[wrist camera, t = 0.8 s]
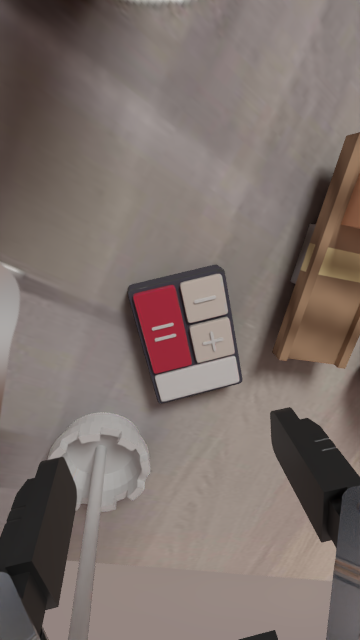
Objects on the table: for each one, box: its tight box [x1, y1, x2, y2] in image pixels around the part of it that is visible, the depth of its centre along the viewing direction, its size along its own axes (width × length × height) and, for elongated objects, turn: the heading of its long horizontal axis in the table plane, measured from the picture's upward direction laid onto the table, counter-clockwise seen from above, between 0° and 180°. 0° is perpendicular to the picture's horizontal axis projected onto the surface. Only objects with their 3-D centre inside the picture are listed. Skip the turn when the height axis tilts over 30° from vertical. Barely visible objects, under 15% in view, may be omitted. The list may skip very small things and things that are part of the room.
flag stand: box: [47, 412, 150, 640], centre depth 31 cm, size 13×13×30 cm
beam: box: [272, 132, 360, 368], centre depth 36 cm, size 24×9×5 cm, turn 168°
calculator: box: [128, 265, 242, 404], centre depth 38 cm, size 11×4×15 cm
